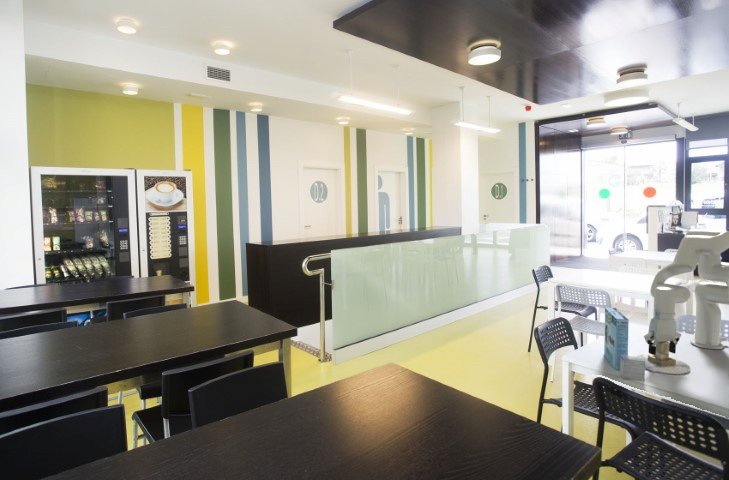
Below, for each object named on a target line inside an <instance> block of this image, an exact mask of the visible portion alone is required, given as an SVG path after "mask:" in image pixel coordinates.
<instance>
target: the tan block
mask: <svg viewBox="0 0 729 480" xmlns="http://www.w3.org/2000/svg"><path fill="white" fill-rule="evenodd" d="M669 342H670V341H665V342H657V343H656V345H655V346H656V355H655V358H657V359H659V360H669V357H670V356H669V355H670V352H669Z"/></svg>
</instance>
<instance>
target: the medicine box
mask: <svg viewBox="0 0 729 480" xmlns="http://www.w3.org/2000/svg"><path fill="white" fill-rule="evenodd" d="M619 373H620V376H621V378H622V379H623V380H629V381H641V382H644V381H645V380H646V379H645V377H646V375H645V374H646V369H645V360H644V359H643V358H642V357H636V356H631V355H628V356H621V363H620V370H619Z"/></svg>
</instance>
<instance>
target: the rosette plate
mask: <svg viewBox="0 0 729 480" xmlns="http://www.w3.org/2000/svg"><path fill="white" fill-rule="evenodd" d="M635 357H642V358H643V359H644V360H645V370H647V369H648V370H647V371H650V372H653V371H654V373H657V372H658V374H662V373H663V375H670V376H681V375H686V374H689V373H690V372H691V367H690V365H689V364H687V363H686V362H684V361H682V360H679V359H676V358H673V357H671V356H669V360H659V359H657V358H655V355H652V354H639V355H636V356H635Z"/></svg>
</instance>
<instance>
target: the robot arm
mask: <svg viewBox="0 0 729 480" xmlns="http://www.w3.org/2000/svg"><path fill="white" fill-rule="evenodd" d="M677 248H678V249H677V250H676V254H675V256H674V257H673V261H672V262H671V263H669V264H668V265H667V266H665V267H663V268H662V269H660V270H659V271H658V272H657V273H656V274H655V275H654V278H653V281H652V283H651V286H650V295H651V297H652V298H653V312H652V313H653V314H652V317H651V318H650V321H649V326H648V332H647V333H646V334H644V335H643V338H644V340H645V342H646V343H647V345H648V354H649V355H656V346H655V345H656V343H657V342H665V341H668V342H669V353H672V354H676V347H677V344H678V342H680V339H681V337H682V333H680V332H678V331H677V323H676V322H677V321H676V319H675V316H676V311H675V310H676V304H684V303H687V302H688V301H689V299H690V298H691V291H690V290H689V289H688V287H686V286H683V285H682V286H681V285H676V284H672V283H665V282H666V281H667V280H668V279H670V278H672V277H674V276H679V275H683V274H687V273H691V272H694V271H695V270H696V268H697V273H698V276H699V278H700V279H701V280H705V281H701V282H698V283H697V284H696V285H695V287H694V296H695V305H696V306H695V307H696V308H695V309H696V310H695V323H694V324H695V325H694V327H695V329H694V338H691V339H690V344H691V345H694V346H695V347H699V348H702V349H707V350H722V349H724V344H723V343H722V342H727V341H728V337H727V336H723V337H722V336H721V324H722V323H721V321H722V320H721V319H722V310H721V308H720V307H719V305H718V304H721V305H725V306H729V262H725V261H722V260H721V259H722V258H721V254H722V253H724V252H725V251H727V250H728V249H729V230H725V229H709V228H707V229H706V228H694V229H690V230H687V231H686V234H685V236H684V237H683V238H682V239H681V240H680V243H679V246H678V247H677Z"/></svg>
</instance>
